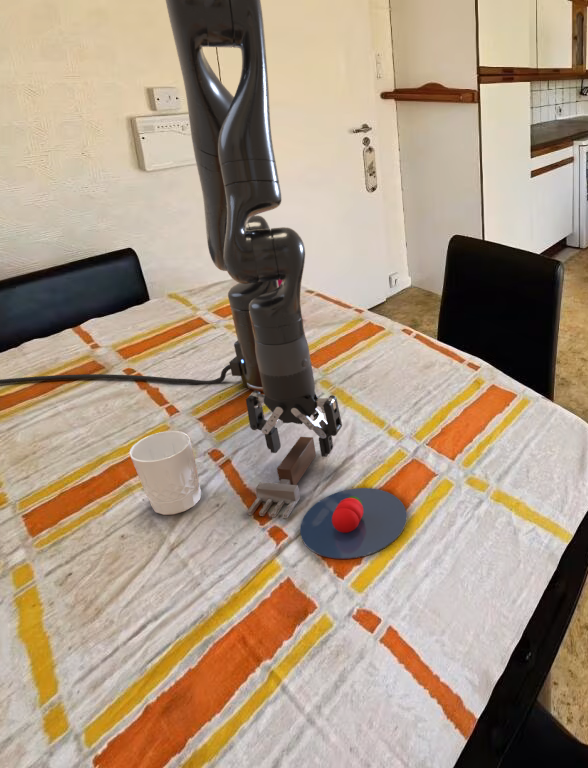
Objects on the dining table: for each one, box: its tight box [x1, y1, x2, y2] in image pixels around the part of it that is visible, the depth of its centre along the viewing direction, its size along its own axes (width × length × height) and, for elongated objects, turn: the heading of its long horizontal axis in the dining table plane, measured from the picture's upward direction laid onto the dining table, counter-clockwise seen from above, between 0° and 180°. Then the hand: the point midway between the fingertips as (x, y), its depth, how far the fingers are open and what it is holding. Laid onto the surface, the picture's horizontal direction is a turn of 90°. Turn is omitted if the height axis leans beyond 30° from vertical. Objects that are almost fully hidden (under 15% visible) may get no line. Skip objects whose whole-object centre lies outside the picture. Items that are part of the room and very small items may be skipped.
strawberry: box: [332, 496, 363, 533], centre depth 88 cm, size 4×6×4 cm
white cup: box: [129, 430, 202, 516], centre depth 91 cm, size 8×8×10 cm
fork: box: [247, 436, 317, 519], centre depth 97 cm, size 16×6×4 cm, turn 172°
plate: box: [299, 487, 408, 560], centre depth 89 cm, size 15×15×1 cm
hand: (301, 452), depth 101 cm, fingers open, 8 cm apart
